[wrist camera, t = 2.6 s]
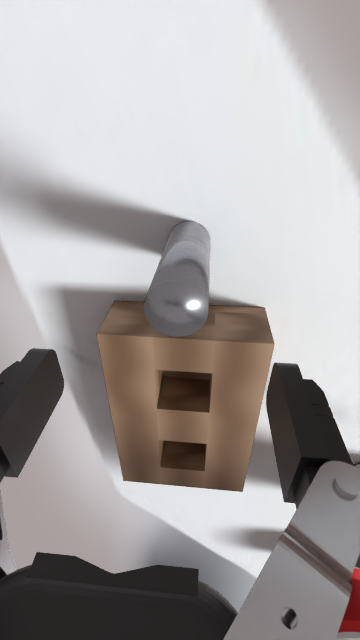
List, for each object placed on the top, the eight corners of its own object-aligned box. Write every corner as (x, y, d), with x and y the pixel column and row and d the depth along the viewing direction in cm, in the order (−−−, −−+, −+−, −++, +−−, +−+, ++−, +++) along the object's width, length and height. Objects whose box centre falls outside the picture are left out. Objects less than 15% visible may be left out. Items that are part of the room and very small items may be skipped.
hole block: (264, 307, 26) (274, 344, 22) (239, 449, 37) (242, 491, 33) (114, 300, 27) (96, 333, 23) (133, 440, 38) (123, 480, 34)
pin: (211, 221, 23) (210, 282, 14) (209, 262, 24) (206, 338, 16) (168, 220, 23) (141, 279, 14) (169, 261, 25) (145, 334, 16)
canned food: (308, 536, 47) (331, 636, 38) (363, 540, 47) (400, 643, 37) (301, 556, 52) (319, 651, 42) (351, 560, 51) (381, 658, 42)
